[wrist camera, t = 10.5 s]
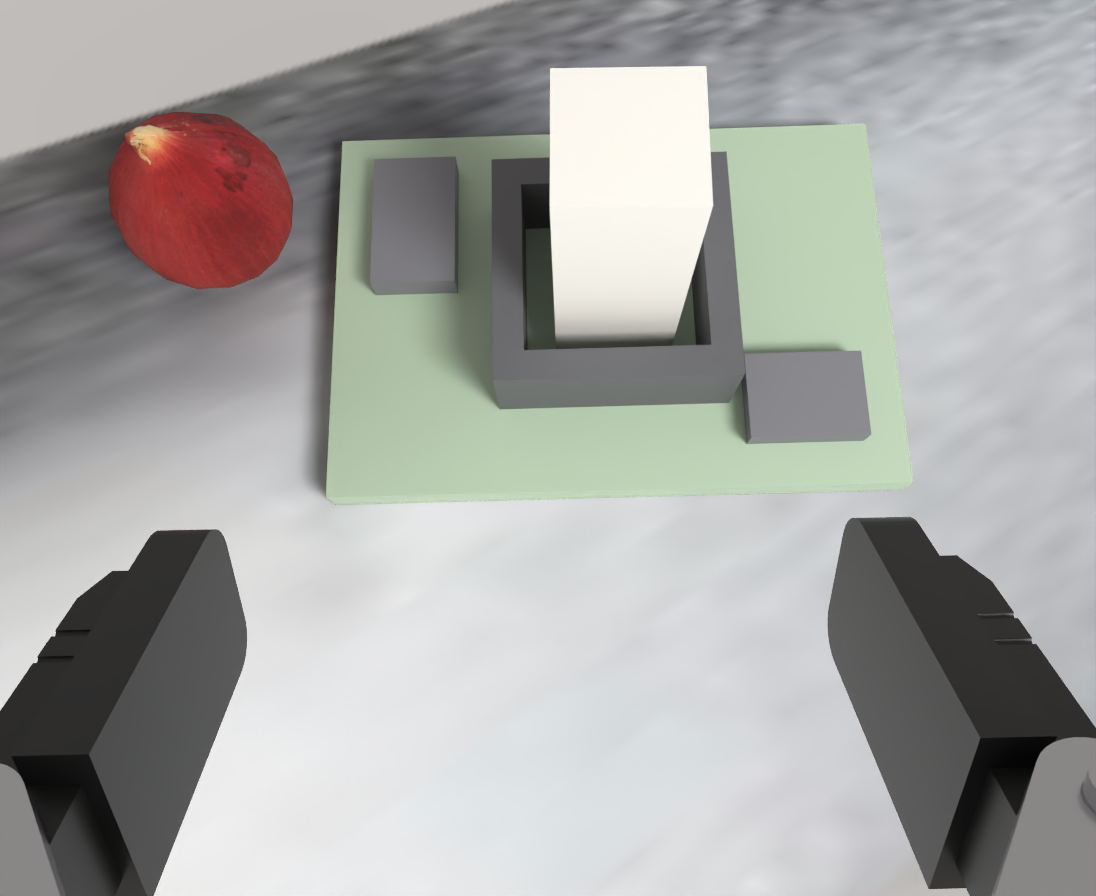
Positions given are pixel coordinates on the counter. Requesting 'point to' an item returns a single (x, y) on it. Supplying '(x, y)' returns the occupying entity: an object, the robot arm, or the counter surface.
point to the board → (610, 373)
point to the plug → (626, 200)
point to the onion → (200, 199)
